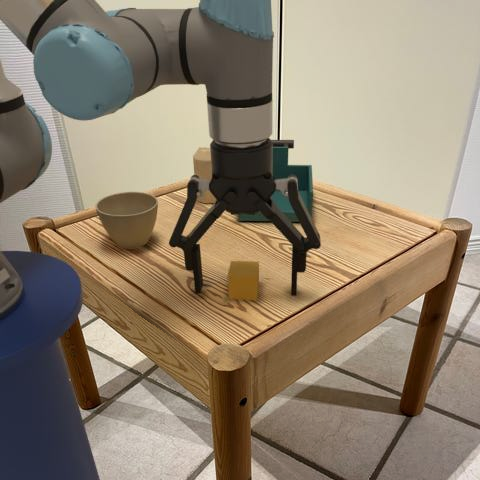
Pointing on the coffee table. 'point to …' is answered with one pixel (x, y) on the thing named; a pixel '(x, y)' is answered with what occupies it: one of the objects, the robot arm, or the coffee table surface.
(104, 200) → the beige bowl
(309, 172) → the dustpan
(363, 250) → the coffee table surface
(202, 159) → the candle
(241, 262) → the block
